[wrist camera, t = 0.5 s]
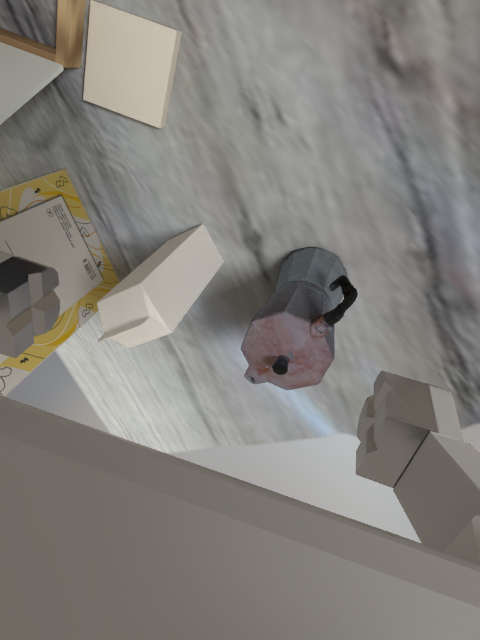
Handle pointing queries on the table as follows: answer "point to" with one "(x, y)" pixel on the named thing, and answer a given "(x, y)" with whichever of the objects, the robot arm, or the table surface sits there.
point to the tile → (130, 64)
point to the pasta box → (54, 260)
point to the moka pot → (299, 321)
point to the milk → (160, 289)
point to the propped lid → (22, 78)
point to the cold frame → (57, 36)
